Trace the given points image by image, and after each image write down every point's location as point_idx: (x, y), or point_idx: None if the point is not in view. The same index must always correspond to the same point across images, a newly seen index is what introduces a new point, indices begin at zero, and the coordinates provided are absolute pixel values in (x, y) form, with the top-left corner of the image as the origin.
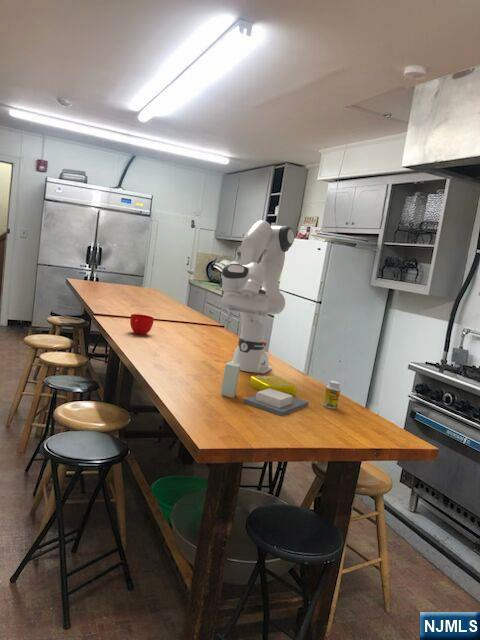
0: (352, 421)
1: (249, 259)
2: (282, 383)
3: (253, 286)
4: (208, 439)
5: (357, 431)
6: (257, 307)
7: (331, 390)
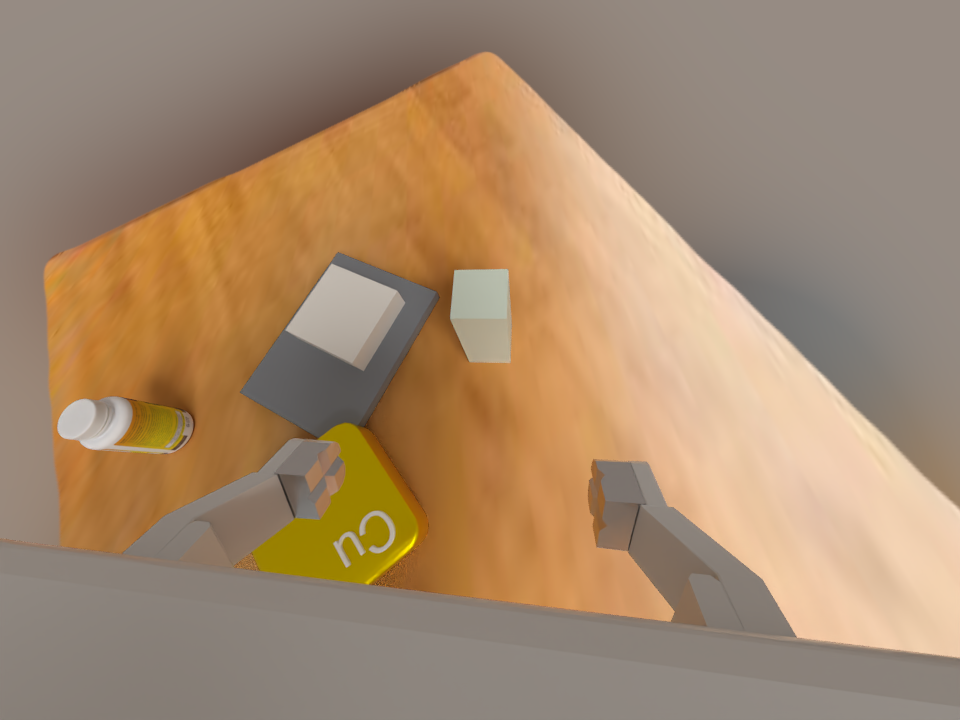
0: (158, 332)
1: None
2: None
3: None
4: (485, 76)
5: (178, 267)
6: (52, 614)
7: (126, 398)
